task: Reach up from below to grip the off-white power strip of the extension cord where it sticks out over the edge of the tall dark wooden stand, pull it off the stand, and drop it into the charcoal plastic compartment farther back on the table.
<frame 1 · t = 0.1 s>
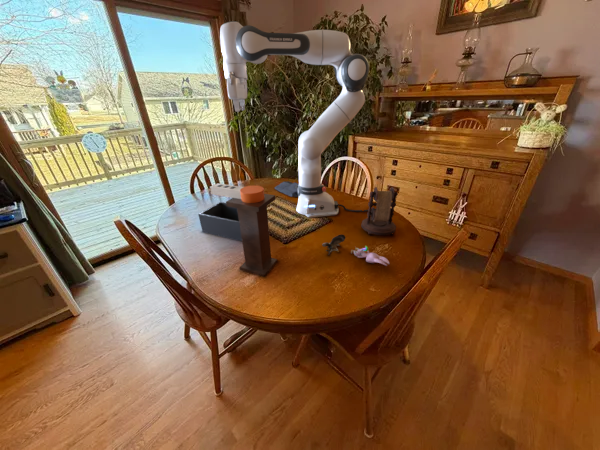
hand: (240, 111, 103), 48 cm above the table, tool pointing down, fingers open, 8 cm apart
compartment: (233, 229, 109), on the table
rabbit figure: (368, 261, 87), on the table
grey animal figurine: (333, 250, 93), on the table
extension cord: (239, 196, 74), point 26 cm above the table, touching stand
dark slate chunk: (292, 190, 153), on the table
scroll: (377, 230, 107), on the table
stand: (259, 265, 85), on the table
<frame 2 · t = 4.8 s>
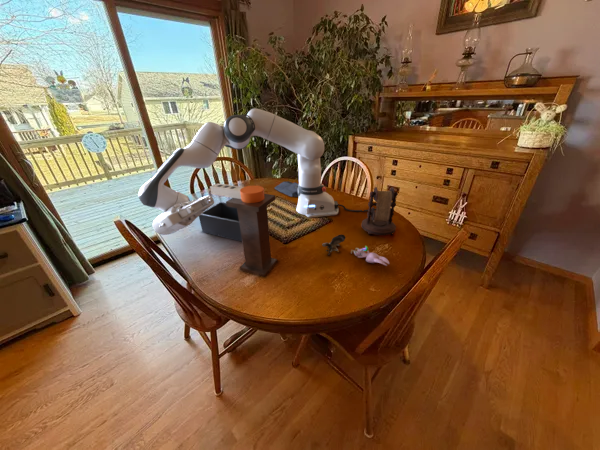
hand: (201, 203, 82), 21 cm above the table, tool pointing upward, fingers open, 8 cm apart
nothing on the table moved.
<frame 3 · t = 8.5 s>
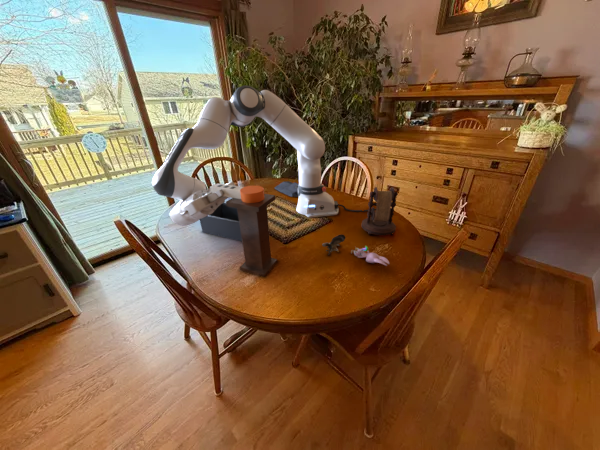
hand: (227, 189, 75), 28 cm above the table, tool pointing upward, fingers closed on extension cord, 3 cm apart
extension cord: (239, 196, 74), point 26 cm above the table, touching gripper, stand
everything else where it was.
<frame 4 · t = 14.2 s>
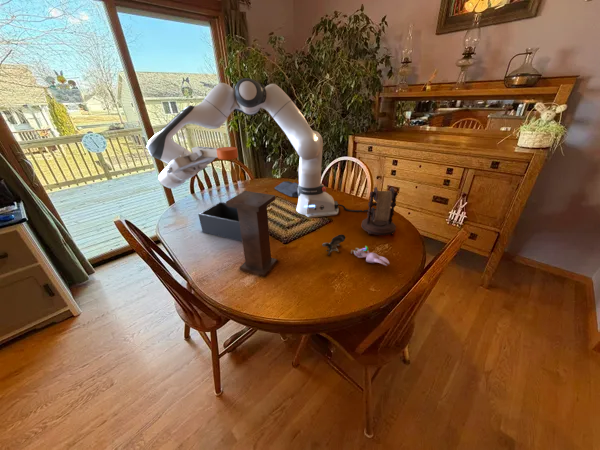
hand: (206, 150, 86), 36 cm above the table, tool pointing upward, fingers closed on extension cord, 3 cm apart
extension cord: (216, 156, 86), point 35 cm above the table, touching gripper
everything else where it was.
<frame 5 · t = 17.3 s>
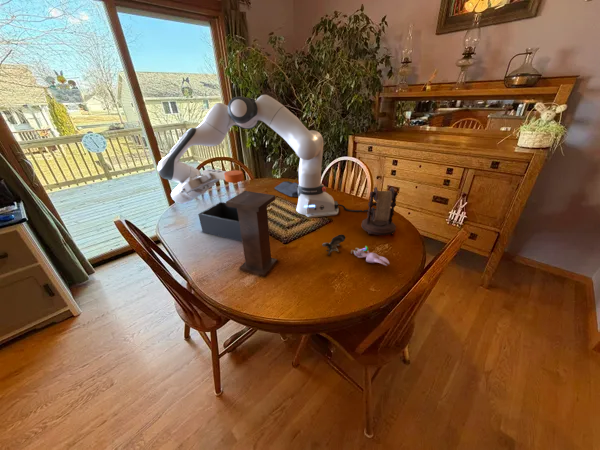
hand: (215, 173, 98), 26 cm above the table, tool pointing upward, fingers closed on extension cord, 3 cm apart
extension cord: (224, 178, 97), point 24 cm above the table, touching gripper
everything else where it was.
when the fingers open (17 cm above the table, at t = 19.8 s): extension cord drops 15 cm, resting on compartment.
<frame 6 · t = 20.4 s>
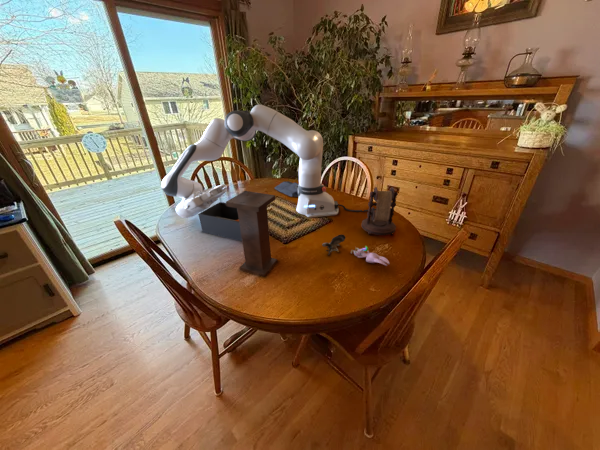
hand: (218, 189, 101), 18 cm above the table, tool pointing upward, fingers open, 8 cm apart
extension cord: (231, 226, 109), point 1 cm above the table, touching compartment
everything else where it was.
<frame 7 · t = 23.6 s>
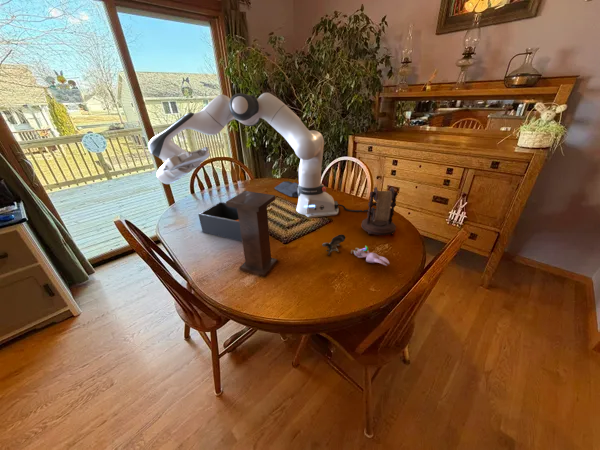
hand: (198, 150, 96), 34 cm above the table, tool pointing upward, fingers open, 8 cm apart
nothing on the table moved.
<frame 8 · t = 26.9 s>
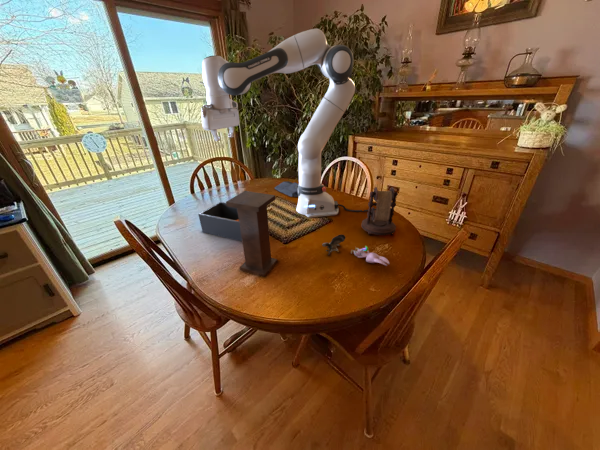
hand: (224, 139, 104), 37 cm above the table, tool pointing down, fingers open, 8 cm apart
nothing on the table moved.
at the end: extension cord inside the target area in the compartment (1.1 cm from its centre), point 1.0 cm above the compartment's base; the gripper is holding nothing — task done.
